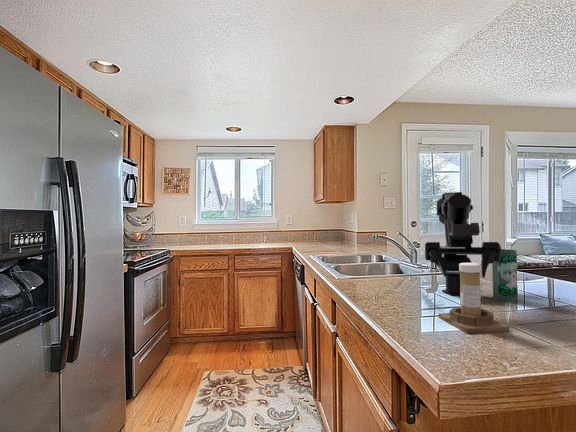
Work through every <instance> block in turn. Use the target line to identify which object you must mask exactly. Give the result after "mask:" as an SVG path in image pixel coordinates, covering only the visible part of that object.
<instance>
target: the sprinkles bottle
mask: <svg viewBox="0 0 576 432" xmlns="http://www.w3.org/2000/svg"><path fill="white" fill-rule="evenodd" d="M458 272H460V295H459V296H460V298H459V299H460V307H461V315H467V316H474V317H477V316H481V309H482V308H481V307H482V298H481V297H482V293H481V291H482V289H481V273H482V268H481V264H480V263H478V262H477V263H476V262H472V263H460V264H459V271H458Z"/></svg>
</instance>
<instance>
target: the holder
mask: <svg viewBox="0 0 576 432" xmlns="http://www.w3.org/2000/svg"><path fill="white" fill-rule="evenodd" d="M437 317H438V318H439V319H441V320H442V321H444V322H446V323H447V324H449V325H451V326H453V327H455V328H456V329H458V330H460V331H461V332H463V333H465V334H477V333H478V334H479V333H481V334H482V333H496V332H497V333H499V332H510V326H508V325H507V324H504V323H502V322H500V321H497V320H496V319H494V313H493V312H492V311H488V310H486V309H483V308H481V316H477V317H474V316H467V315H461V306H460V307H453V308H451V309H450V310H449V312H448V313H447V312H443V313H442V312H441V313H438V315H437Z"/></svg>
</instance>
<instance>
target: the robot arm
mask: <svg viewBox="0 0 576 432" xmlns="http://www.w3.org/2000/svg"><path fill="white" fill-rule="evenodd" d="M471 202H472V199H471V198H470V197H469V196H468V195H465V194H463V192H462V191H457V192H455V191H454V192H444V193H442V194H441V197H440V198H439V199H438V200H437V201H436V216H438V221H439V222H440V223H442V224H443V227H444V235H445V246H443V245H442V246H441V243H440V241H427V242H425V243H424V255H425V257H424V258H425V260H426V261H430V263H434V264H435V266H436V267H437V268H438V269H439V271H440V273H441V276H443V277H444V278H445V289H441V292H442V293H444V294H447V295H450V296H460V271H459V264H460V263H473V262H472V260H471V259H470V256H481V261H480V263H481V264H480V269H481V277H482V279H485V278H486V273H487V269H488V267H489V266H490V264H492V263H494V261H498V260H499V256H500V252H501V249H502V246H501V244H500V243H499V242H498V241H482V243H481V246H479V247H478V246H475V247H474V246H472V245H473V242H474V240H473V236H479V235H480V233H481V231H480V225H479V222H471V223H469V222H468V220H469V218H470V213H471V212H472V210H473V211H474V205H472V204H471ZM468 256H469V257H468Z"/></svg>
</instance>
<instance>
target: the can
mask: <svg viewBox="0 0 576 432" xmlns="http://www.w3.org/2000/svg"><path fill="white" fill-rule="evenodd" d="M517 257H518V256H517V250H516V249H506V248H505V249H503V248H501V252H500V256H499V260H498V261H494V263H491V265H492V270H491V271H492V296H493V299H494V300H496V301H500V302H506V303H507V302H511V303H514V302H518V301H519V297H518V296H519V293H518V291H519V290H518V261H517Z"/></svg>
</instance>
